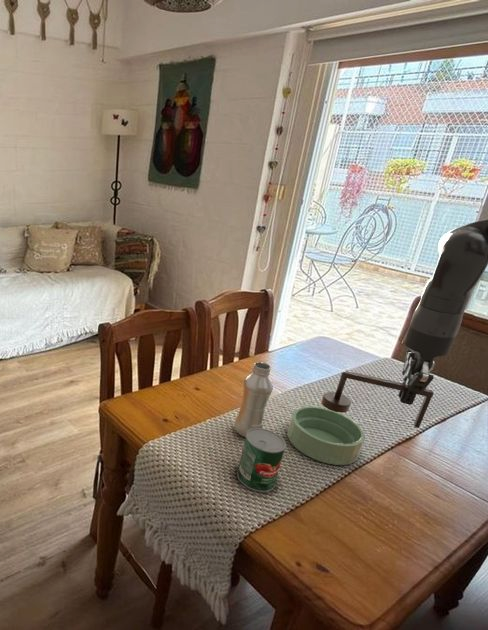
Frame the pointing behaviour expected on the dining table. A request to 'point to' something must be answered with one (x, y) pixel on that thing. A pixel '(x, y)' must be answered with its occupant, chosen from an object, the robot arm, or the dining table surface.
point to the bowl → (325, 435)
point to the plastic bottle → (254, 399)
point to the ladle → (342, 403)
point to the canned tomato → (261, 459)
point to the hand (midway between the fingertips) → (404, 400)
